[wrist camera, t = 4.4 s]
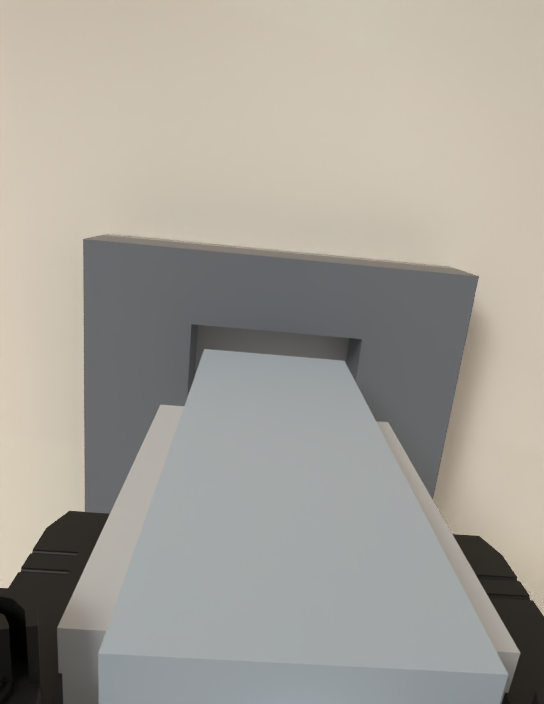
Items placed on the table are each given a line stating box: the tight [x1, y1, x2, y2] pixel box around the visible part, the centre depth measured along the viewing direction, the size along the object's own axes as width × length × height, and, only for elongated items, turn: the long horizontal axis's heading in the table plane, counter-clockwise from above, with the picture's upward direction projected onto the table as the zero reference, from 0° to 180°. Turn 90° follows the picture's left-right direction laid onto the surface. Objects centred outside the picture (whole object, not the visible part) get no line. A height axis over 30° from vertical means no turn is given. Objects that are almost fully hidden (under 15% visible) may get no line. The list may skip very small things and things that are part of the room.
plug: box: [98, 349, 508, 704], centre depth 10 cm, size 4×4×11 cm
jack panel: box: [83, 234, 479, 514], centre depth 19 cm, size 21×12×2 cm, turn 175°
